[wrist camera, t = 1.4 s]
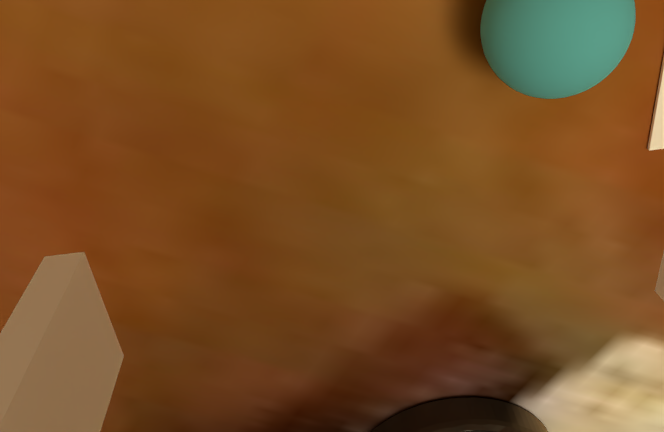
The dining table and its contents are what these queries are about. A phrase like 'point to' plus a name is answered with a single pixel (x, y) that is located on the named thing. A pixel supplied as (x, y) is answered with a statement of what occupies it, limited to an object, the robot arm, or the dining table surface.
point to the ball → (555, 43)
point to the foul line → (658, 117)
